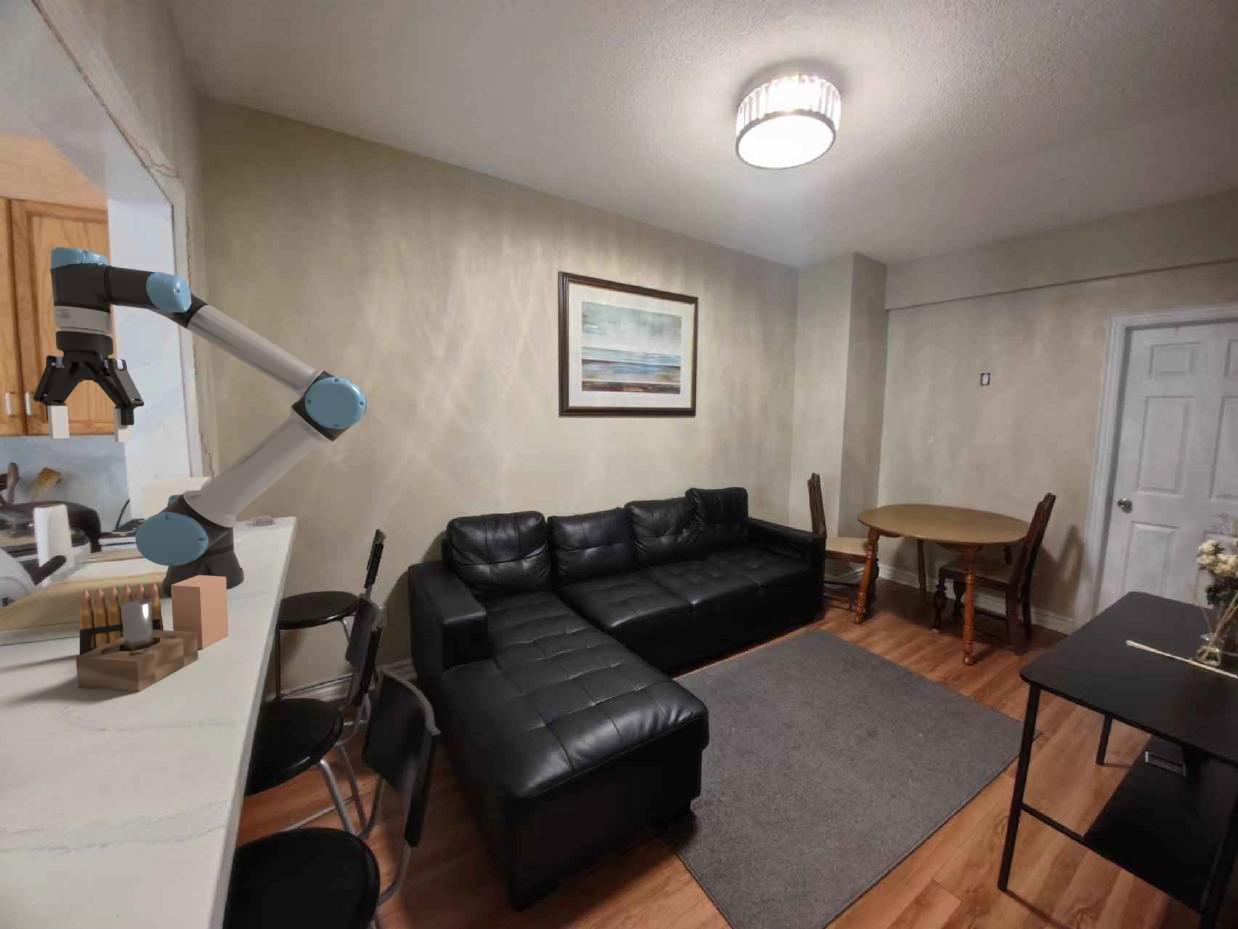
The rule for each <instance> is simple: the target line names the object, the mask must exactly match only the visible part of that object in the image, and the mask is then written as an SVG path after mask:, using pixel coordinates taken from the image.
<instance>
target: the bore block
mask: <svg viewBox="0 0 1238 929" xmlns="http://www.w3.org/2000/svg"><path fill="white" fill-rule="evenodd" d="M153 640H154V645H153V646H151V647H149V648H145V649H140V650H136V651H131V652H129V651H125V647H124V637H122V638H120V639H118V640H115V641H113V642H111V643H108V644H106V645H104V646H101V647H99V648H97V649H94V650H92V651H90V652H87V653H85V654H83V655H80V654H79V655H78V656H76V657H75V661H76V663H75V664H76V676H77V688H82V689H95V690H109V691H110V690H111V691H122V692H123V691H125V692H134V693H135V692H137V693H140V692H142V691H143V690H145V689H146V688H148V687H150V686H153V685H155V684H156V683H158V682H159V681H161V680H163V679H165V678H167V677H168V676H170V675H172V674H174V673H175V672H177V671H180V670H181V669H183V668H185V667H187V666H188V665H191V664H193V663H194V662H196V661H197V660H199V651H198V650H199V649H198V645H197V632H184V631H173V630H167V629H166V630H165V629H164V630H154V629H153Z"/></svg>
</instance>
